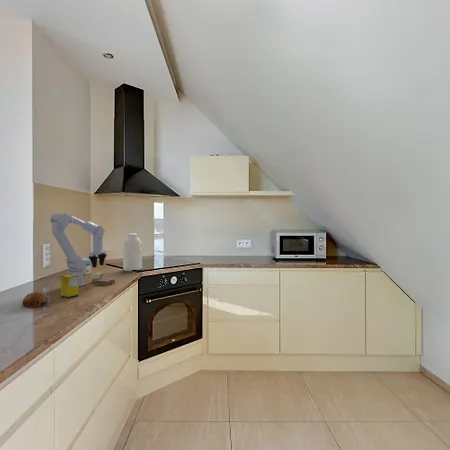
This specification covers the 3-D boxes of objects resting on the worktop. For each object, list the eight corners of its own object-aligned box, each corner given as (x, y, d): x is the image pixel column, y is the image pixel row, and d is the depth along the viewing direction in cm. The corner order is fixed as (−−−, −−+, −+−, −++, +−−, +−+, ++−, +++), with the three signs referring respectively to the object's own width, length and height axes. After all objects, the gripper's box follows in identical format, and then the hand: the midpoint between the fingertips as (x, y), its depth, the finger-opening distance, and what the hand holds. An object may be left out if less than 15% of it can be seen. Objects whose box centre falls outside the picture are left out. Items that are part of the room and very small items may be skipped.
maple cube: (99, 282, 202) (99, 274, 202) (92, 281, 203) (92, 274, 203) (103, 280, 207) (103, 273, 207) (96, 280, 208) (96, 272, 208)
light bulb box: (91, 273, 234) (91, 258, 234) (86, 274, 228) (86, 259, 227) (77, 272, 235) (77, 257, 235) (71, 274, 229) (71, 259, 228)
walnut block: (107, 286, 193) (107, 281, 193) (95, 285, 194) (95, 280, 194) (114, 283, 200) (114, 278, 200) (103, 282, 202) (103, 278, 202)
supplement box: (70, 294, 170) (70, 273, 170) (78, 296, 167) (78, 274, 167) (60, 297, 165) (60, 275, 165) (68, 298, 162) (68, 276, 162)
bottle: (125, 272, 240) (125, 234, 239) (121, 269, 252) (121, 233, 251) (144, 270, 246) (144, 233, 246) (139, 268, 259) (139, 233, 258)
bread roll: (44, 309, 155) (41, 293, 157) (52, 303, 149) (49, 287, 151) (21, 314, 148) (18, 297, 150) (29, 308, 142) (25, 290, 144)
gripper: (96, 246, 197) (97, 268, 197) (109, 243, 211) (110, 264, 211) (86, 245, 198) (86, 268, 199) (99, 243, 212) (100, 264, 213)
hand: (98, 266), depth 205 cm, fingers open, 7 cm apart
